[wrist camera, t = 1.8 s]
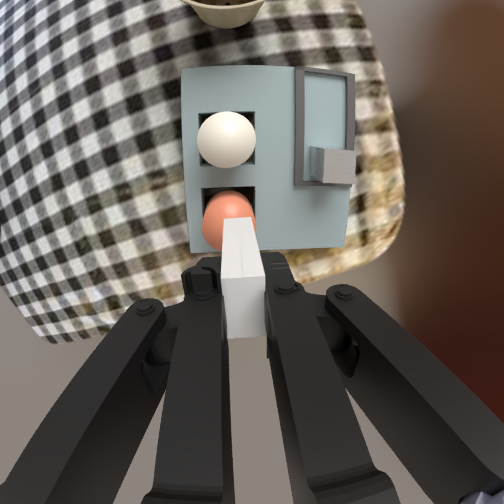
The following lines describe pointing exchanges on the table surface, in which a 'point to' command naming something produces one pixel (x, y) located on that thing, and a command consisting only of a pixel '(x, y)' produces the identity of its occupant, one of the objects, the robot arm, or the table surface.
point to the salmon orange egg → (224, 215)
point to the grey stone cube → (332, 164)
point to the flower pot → (226, 11)
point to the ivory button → (226, 139)
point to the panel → (273, 149)
